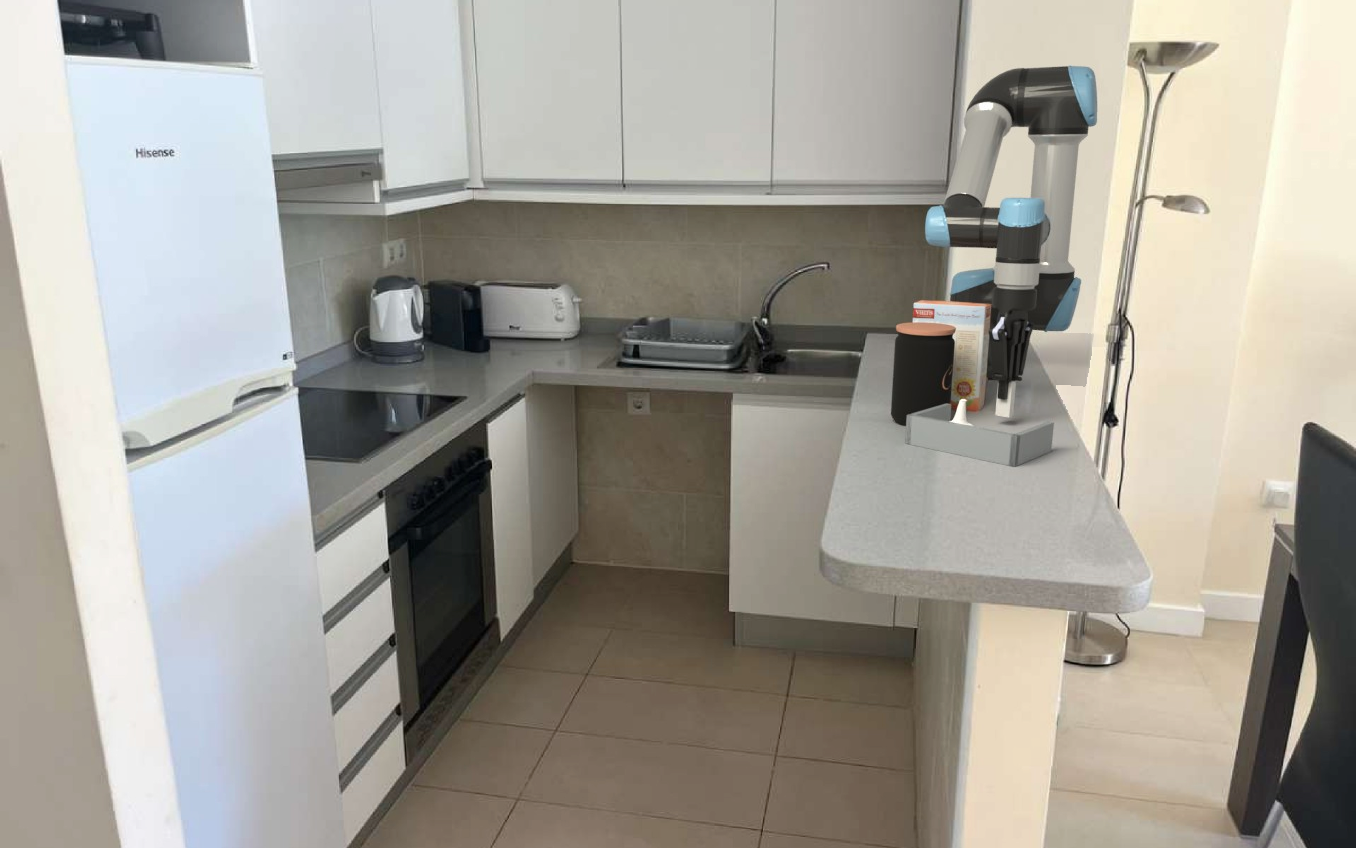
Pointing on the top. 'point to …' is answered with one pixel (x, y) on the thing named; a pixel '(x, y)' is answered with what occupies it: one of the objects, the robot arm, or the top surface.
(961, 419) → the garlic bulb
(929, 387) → the coffee jar
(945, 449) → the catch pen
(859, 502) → the top surface
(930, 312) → the cracker box
